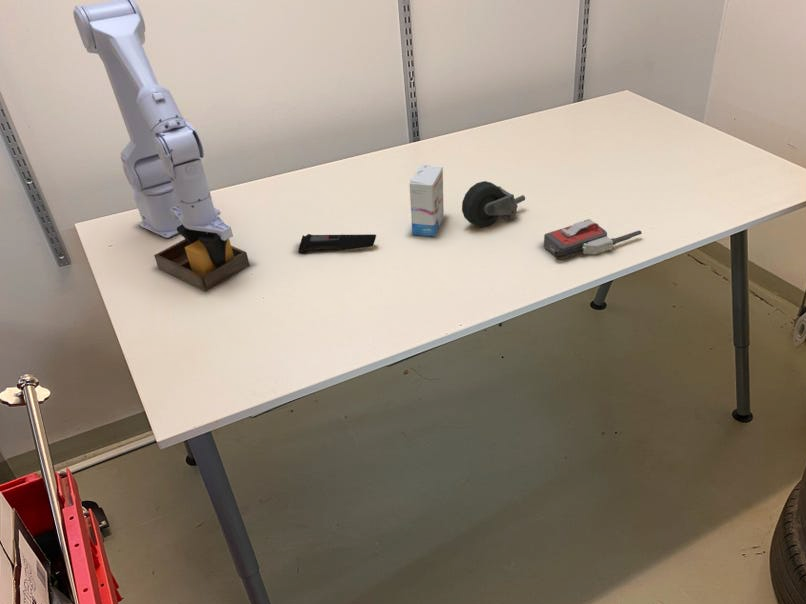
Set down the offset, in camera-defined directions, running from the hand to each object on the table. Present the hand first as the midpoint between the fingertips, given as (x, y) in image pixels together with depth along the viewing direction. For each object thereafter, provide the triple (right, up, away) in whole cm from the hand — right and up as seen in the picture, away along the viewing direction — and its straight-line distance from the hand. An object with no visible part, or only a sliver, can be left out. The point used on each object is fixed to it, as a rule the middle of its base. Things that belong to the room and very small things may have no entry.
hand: (212, 261), depth 136 cm
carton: (0, -1, +1) cm, 2 cm away
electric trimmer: (+22, +4, +8) cm, 24 cm away
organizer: (-3, -1, +3) cm, 4 cm away
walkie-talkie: (+73, +4, +8) cm, 73 cm away
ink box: (+40, +9, +14) cm, 43 cm away
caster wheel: (+54, +11, +16) cm, 57 cm away
